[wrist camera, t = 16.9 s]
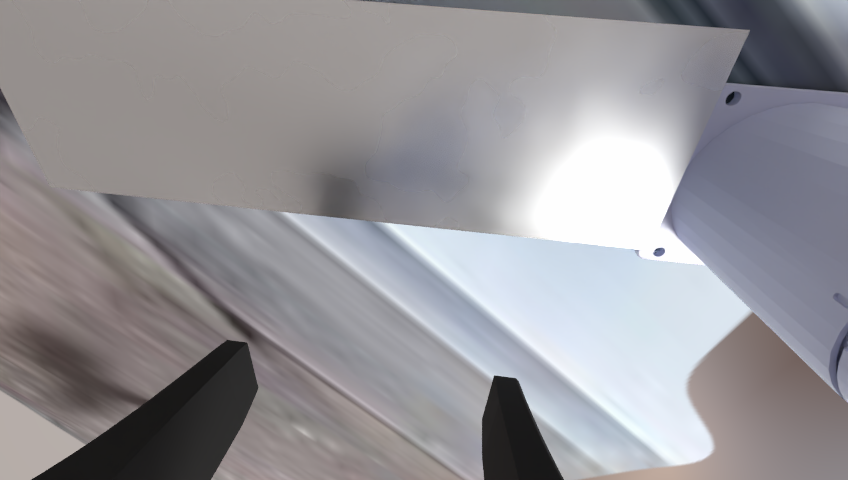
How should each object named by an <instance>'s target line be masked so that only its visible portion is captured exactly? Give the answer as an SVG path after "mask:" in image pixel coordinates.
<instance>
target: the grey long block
mask: <svg viewBox="0 0 848 480" xmlns="http://www.w3.org/2000/svg"><path fill="white" fill-rule="evenodd" d="M749 32H750V30H742V29H729V28H715V27H702V26H689V25H676V24H662V23H649V22H636V21H623V20H609V19H596V18H583V17H570V16H556V15H543V14H530V13H517V12H503V11H490V10H477V9H464V8H450V7H437V6H424V5H411V4H397V3H384V2H371V1H358V0H0V88H1V90H2V92H3V94H4V96H5V98H6V100H7V102H8V104H9V106H10V108H11V110H12V112H13V114H14V116H15V118H16V120H17V122H18V124H19V126H20V128H21V130H22V132H23V134H24V136H25V138H26V140H27V142H28V144H29V146H30V148H31V150H32V152H33V154H34V156H35V158H36V160H37V162H38V164H39V166H40V168H41V170H42V172H43V174H44V176H45V178H46V180H47V182H48V184H49V186H50V187H51V188H61V189H71V190H80V191H90V192H99V193H109V194H118V195H128V196H137V197H147V198H156V199H166V200H175V201H185V202H194V203H204V204H213V205H223V206H232V207H242V208H251V209H261V210H270V211H280V212H289V213H299V214H309V215H318V216H328V217H337V218H347V219H356V220H366V221H375V222H385V223H394V224H404V225H413V226H423V227H432V228H442V229H451V230H461V231H470V232H480V233H489V234H499V235H508V236H518V237H527V238H537V239H547V240H556V241H566V242H575V243H585V244H594V245H604V246H613V247H623V248H632V249H642V250H649V248H650V246H651V244H652V242H653V239H654V237H655V235H656V233H657V231H658V229H659V226H660V224H661V222H662V220H663V218H664V216H665V213H666V211H667V209H668V207H669V205H670V203H671V200H672V198H673V196H674V194H675V192H676V190H677V187H678V185H679V183H680V181H681V179H682V177H683V174H684V172H685V170H686V168H687V166H688V164H689V161H690V159H691V157H692V155H693V153H694V151H695V148H696V146H697V144H698V142H699V140H700V138H701V135H702V133H703V131H704V129H705V127H706V125H707V123H708V120H709V118H710V116H711V114H712V112H713V110H714V107H715V105H716V103H717V101H718V99H719V97H720V94H721V92H722V90H723V88H724V86H725V84H726V81H727V79H728V77H729V75H730V73H731V71H732V68H733V66H734V64H735V62H736V60H737V58H738V55H739V53H740V51H741V49H742V47H743V45H744V42H745V40H746V38H747V36H748V34H749Z"/></svg>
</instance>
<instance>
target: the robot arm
mask: <svg viewBox="0 0 848 480" xmlns="http://www.w3.org/2000/svg"><path fill="white" fill-rule="evenodd" d="M732 92H734V93H735V95H734V98H733V99H732V101H731V102H729V103H727V104H726V102H725V101H726V98H727V96H728V95H729V94H730V93H732ZM657 248H661V249H660V250H659V251H658V252H654V251H655V249H657ZM635 252H636V254H637V255H638V256H639V257H640V258H642V259H649V260H658V261H667V262H677V263H686V264H696V265H705V266H707V267H708V268H709V269H710V270H711V271H712V272H713V273H714V274H715V275H716V276H717V277H718V278H719V279H720V280H721V281H722V282H723V283H724V284H725V285H726V286H727V287H728V288H729V289H731V290H732V291H733V292H734V293H735V294H736V295H737V296H738V297H739V298H740V299H741V300H742V301H743V302H744V303H745V304H746V305H747V306H748V307H749V308H750V309H751V310H752V311H753V312H754V313H755V314H756V315H757V316H758V317H759V318H761V320H762V321H763V322H764V323H766V324H767V325H768V326H769V327H770V328H771V329H772V330H773V331H774V332H775V333H776V334H777V335H778V336H779V337H780V338H781V339H782V340H783V341H784V342H785V343H786V344H787V345H788V346H789V347H790V348H791V349H792V350H793V351H794V352H796V354H797V355H798V356H799V357H801V359H803V360H804V361H805V362H806V363H807V364H808V365H809V366H810V367H811V368H812V369H813V370H814V371H815V372H816V373H817V374H818V375H819V376H820V377H821V378H822V379H823V380H824V381H825V382H826V383H827V384H828V385H829V386H830V387H831V388H832V389H833V390H834V391H836V393H837V394H838V395H839V396H841V397H842V398H843V399H844V400H846V401H847V403H848V93H845V92H833V91H821V90H809V89H797V88H785V87H772V86H760V85H748V84H736V83H726V84H725V86H724V88H723V90H722V92H721V94H720V97H719V99H718V101H717V103H716V105H715V107H714V110H713V112H712V114H711V116H710V118H709V120H708V123H707V125H706V127H705V129H704V131H703V133H702V135H701V138H700V140H699V142H698V144H697V146H696V148H695V151H694V153H693V155H692V157H691V159H690V161H689V164H688V166H687V168H686V170H685V172H684V174H683V177H682V179H681V181H680V183H679V185H678V187H677V190H676V192H675V194H674V196H673V198H672V200H671V203H670V205H669V207H668V209H667V211H666V213H665V216H664V218H663V220H662V222H661V224H660V226H659V229H658V231H657V233H656V235H655V237H654V239H653V242H652V244H651V246H650V248H649V250H642V249H635ZM257 390H258V385H257V381H256V377H255V373H254V369H253V364H252V360H251V356H250V352H249V348H248V344H247V343H245V342H238V341H230V340H227V341H225V342H224V343H223V344H221V345H220V346H219V347H217V348H216V349H215V350H213V351H212V352H211V353H210V354H208V355H207V356H206V357H204V358H203V359H202V360H201V361H199V362H198V363H197V364H196V365H194V366H193V367H192V368H190V369H189V370H188V371H187V372H185V373H184V374H183V375H182V376H180V377H179V378H178V379H176V380H175V381H174V382H172V383H171V384H170V385H169V386H167V387H166V388H165V389H163V390H162V391H161V392H159V393H158V394H157V395H155V396H154V397H153V398H151V399H150V400H149V401H147V402H146V403H145V404H143V405H142V406H141V407H139V408H138V409H137V410H135V411H134V412H132V413H131V414H130V415H128V416H127V417H125V418H124V419H123V420H121V421H120V422H118V423H117V424H116V425H114V426H113V427H111V428H110V429H109V430H107V431H106V432H104V433H103V434H101V435H100V436H99V437H97V438H96V439H94V440H93V441H91V442H90V443H88V444H87V445H85V446H84V447H82V448H81V449H79V450H78V451H76V452H75V453H73V454H72V455H70V456H68V457H67V458H65V459H64V460H62V461H61V462H59V463H57V464H56V465H54V466H53V467H51V468H50V469H48V470H46V471H45V472H43V473H42V474H40V475H38V476H37V477H35V478H33V479H32V480H211V478H212V477H213V475H214V473H215V472H216V470H217V468H218V466H219V465H220V463H221V461H222V459H223V458H224V456H225V454H226V453H227V451H228V449H229V447H230V446H231V444H232V442H233V440H234V438H235V437H236V435H237V433H238V431H239V430H240V428H241V426H242V424H243V422H244V420H245V418H246V416H247V413H248V411H249V409H250V407H251V404H252V402H253V399H254V397H255V395H256V392H257ZM482 460H483V470H484V480H564V479H563V477H562V475H561V473H560V472H559V470H558V468H557V466H556V464H555V462H554V460H553V458H552V456H551V454H550V452H549V450H548V448H547V446H546V444H545V442H544V440H543V437H542V435H541V433H540V431H539V429H538V427H537V424H536V422H535V420H534V418H533V416H532V413H531V411H530V409H529V406H528V404H527V402H526V399H525V397H524V394H523V392H522V389H521V386H520V384H519V381H518V380H517V379H516V378H509V377H501V376H494V378H493V382H492V386H491V389H490V393H489V396H488V400H487V404H486V407H485V411H484V415H483V418H482Z"/></svg>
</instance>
